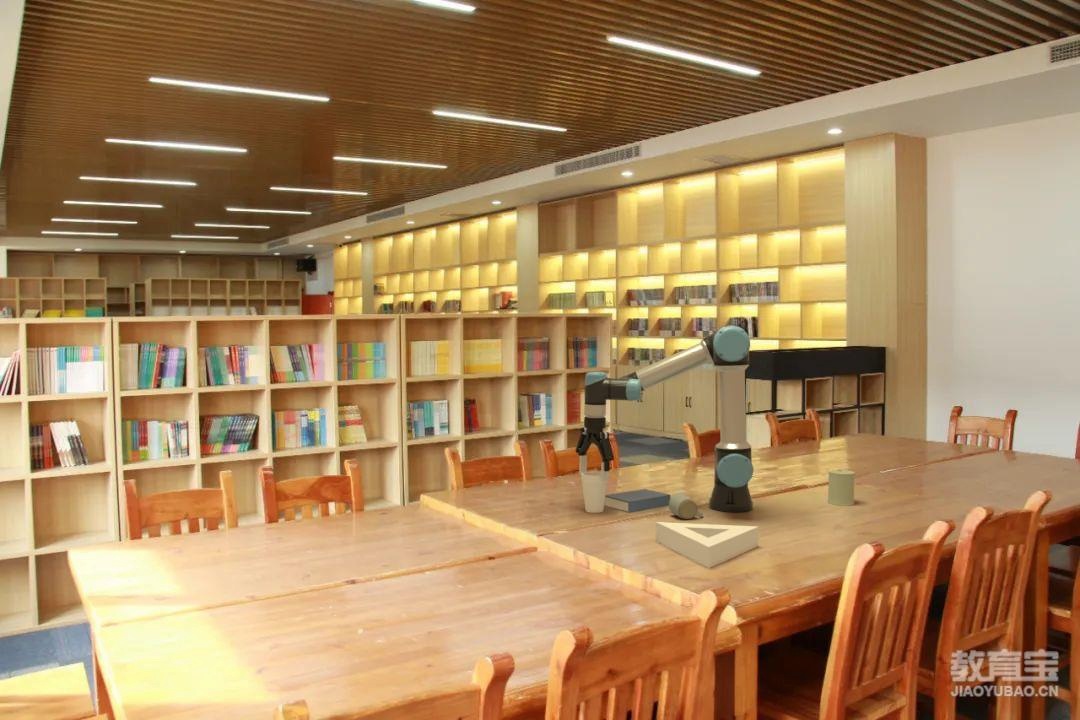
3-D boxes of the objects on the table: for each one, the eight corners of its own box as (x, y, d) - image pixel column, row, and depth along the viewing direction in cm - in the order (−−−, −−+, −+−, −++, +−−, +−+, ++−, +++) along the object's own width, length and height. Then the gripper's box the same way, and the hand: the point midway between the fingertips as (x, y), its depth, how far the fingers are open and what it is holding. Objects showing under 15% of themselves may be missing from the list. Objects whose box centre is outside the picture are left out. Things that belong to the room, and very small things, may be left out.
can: (850, 500, 312) (851, 468, 311) (857, 505, 302) (858, 472, 302) (825, 500, 312) (825, 468, 312) (831, 505, 303) (831, 472, 303)
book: (670, 506, 302) (670, 494, 302) (629, 514, 290) (629, 501, 290) (645, 500, 312) (645, 488, 312) (604, 507, 300) (604, 495, 300)
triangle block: (655, 542, 252) (656, 522, 252) (730, 535, 261) (730, 515, 261) (708, 570, 224) (708, 547, 224) (790, 561, 233) (790, 538, 233)
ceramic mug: (678, 520, 278) (679, 497, 278) (668, 515, 286) (668, 493, 286) (707, 519, 281) (708, 496, 281) (696, 514, 289) (696, 491, 289)
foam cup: (608, 513, 288) (608, 476, 287) (581, 513, 288) (581, 476, 288) (606, 507, 297) (607, 471, 297) (580, 507, 298) (581, 471, 297)
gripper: (625, 419, 283) (623, 482, 284) (584, 412, 304) (582, 470, 305) (606, 420, 279) (605, 484, 280) (566, 413, 300) (565, 472, 301)
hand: (593, 477), depth 292 cm, fingers open, 13 cm apart
